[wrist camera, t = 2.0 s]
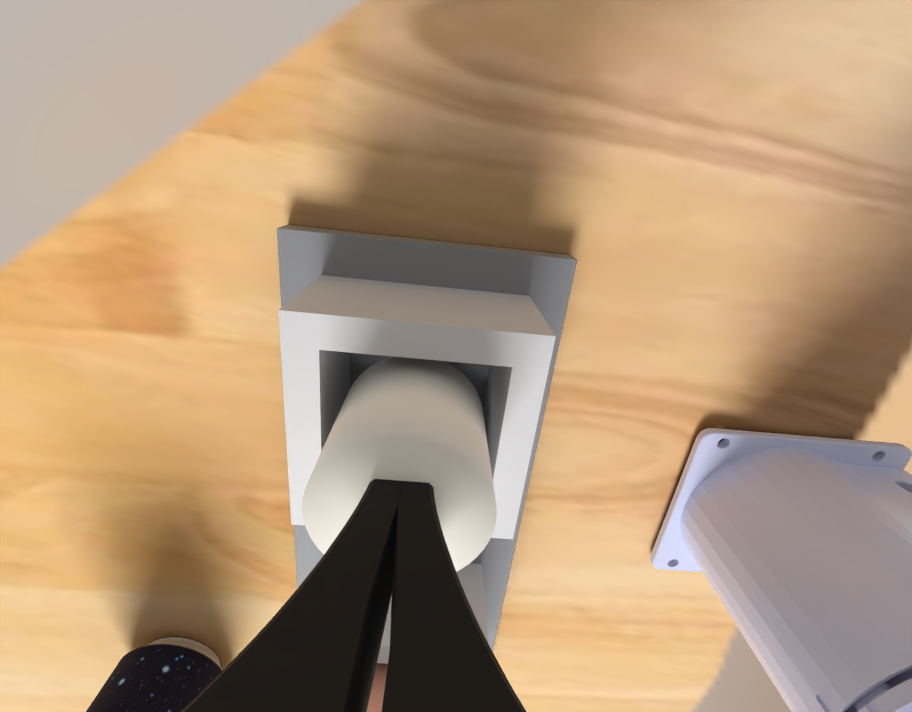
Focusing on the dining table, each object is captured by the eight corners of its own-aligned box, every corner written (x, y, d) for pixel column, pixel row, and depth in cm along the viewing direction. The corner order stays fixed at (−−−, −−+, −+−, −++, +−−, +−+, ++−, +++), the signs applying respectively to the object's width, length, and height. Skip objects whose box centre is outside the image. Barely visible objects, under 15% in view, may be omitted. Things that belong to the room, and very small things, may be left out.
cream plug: (491, 361, 13) (510, 443, 9) (473, 478, 15) (483, 589, 11) (344, 348, 13) (298, 426, 9) (343, 469, 14) (305, 578, 10)
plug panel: (569, 254, 15) (620, 290, 11) (485, 659, 24) (493, 772, 20) (287, 224, 15) (215, 248, 10) (307, 650, 24) (274, 764, 19)
